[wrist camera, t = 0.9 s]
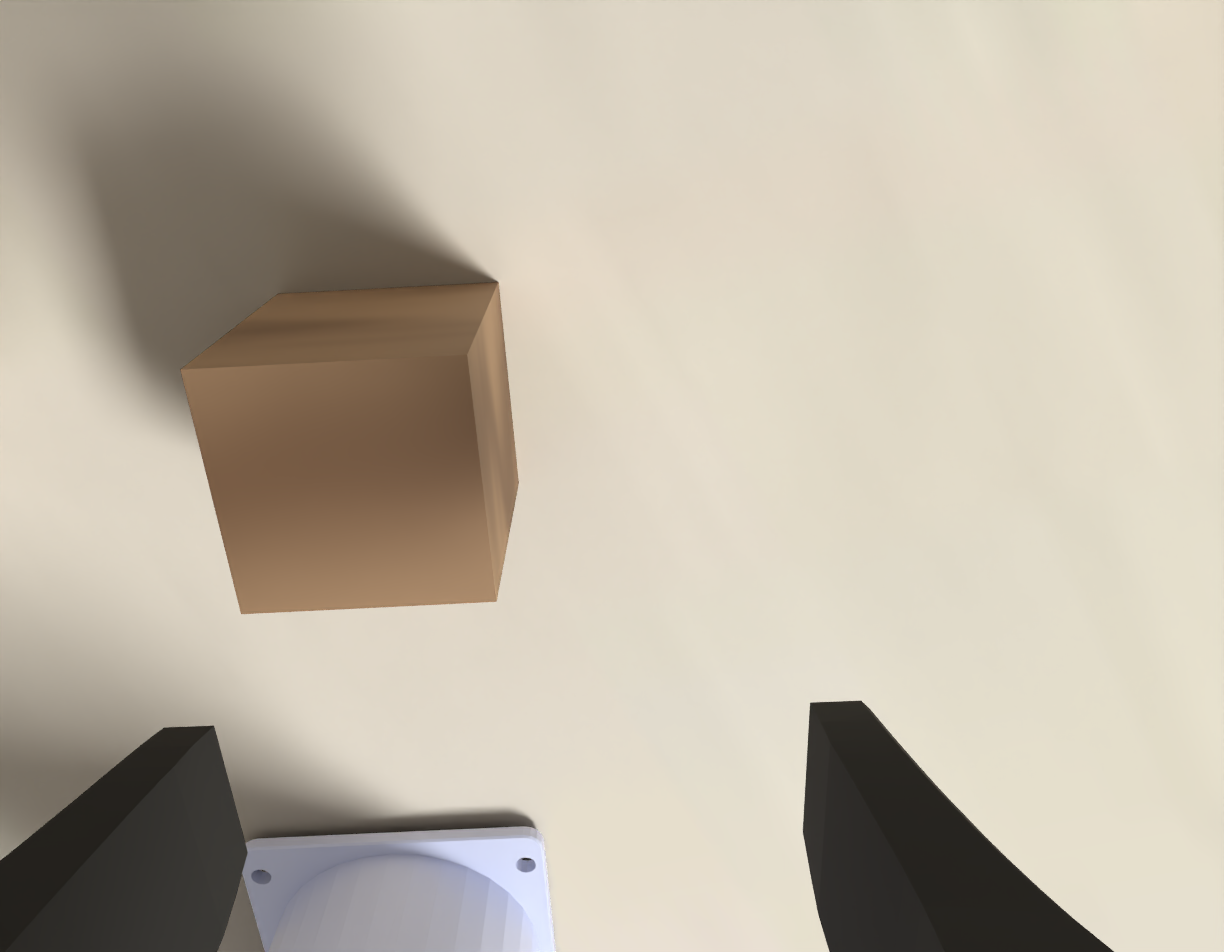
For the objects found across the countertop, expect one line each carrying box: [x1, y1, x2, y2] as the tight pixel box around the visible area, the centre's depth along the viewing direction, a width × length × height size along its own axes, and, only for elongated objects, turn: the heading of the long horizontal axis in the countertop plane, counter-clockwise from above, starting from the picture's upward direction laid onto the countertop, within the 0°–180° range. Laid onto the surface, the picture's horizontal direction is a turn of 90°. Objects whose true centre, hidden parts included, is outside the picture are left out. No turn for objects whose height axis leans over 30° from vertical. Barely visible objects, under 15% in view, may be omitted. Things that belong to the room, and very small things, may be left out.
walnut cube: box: [180, 282, 519, 614], centre depth 18 cm, size 4×4×5 cm
